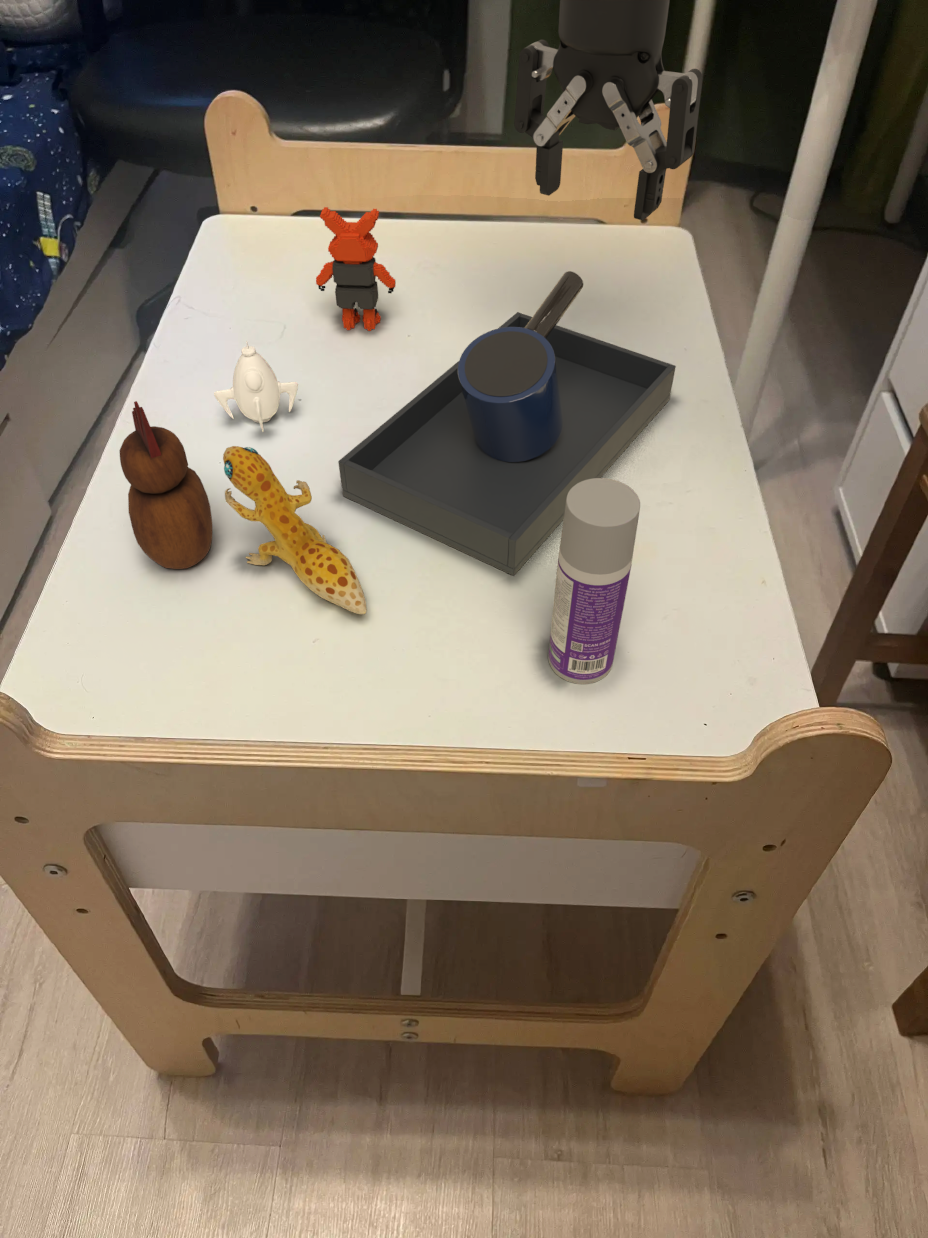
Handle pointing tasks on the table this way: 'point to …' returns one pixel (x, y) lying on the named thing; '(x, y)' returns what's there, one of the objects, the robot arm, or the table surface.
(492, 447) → the blue saucepan
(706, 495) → the table surface
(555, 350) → the tray
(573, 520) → the container
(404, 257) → the table surface
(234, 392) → the rocket toy
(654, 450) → the table surface
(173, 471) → the wooden figurine
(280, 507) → the toy
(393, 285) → the toy animal
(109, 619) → the table surface
